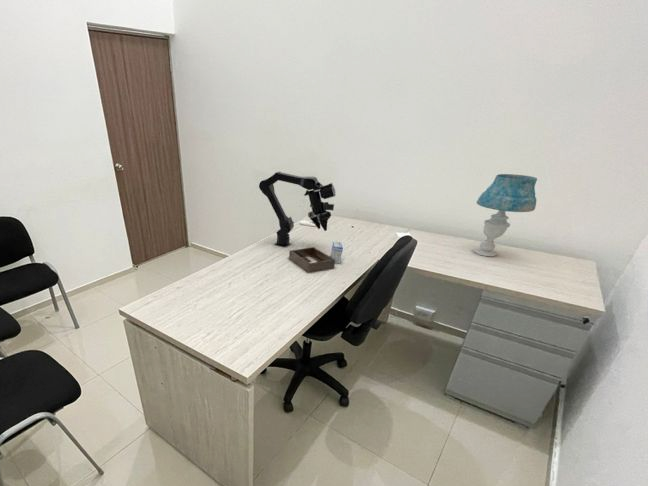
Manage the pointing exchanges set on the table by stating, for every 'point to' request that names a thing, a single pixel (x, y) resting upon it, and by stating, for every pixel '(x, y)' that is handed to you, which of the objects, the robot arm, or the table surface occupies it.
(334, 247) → the medicine box
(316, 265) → the crate
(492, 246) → the table lamp
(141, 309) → the table surface
